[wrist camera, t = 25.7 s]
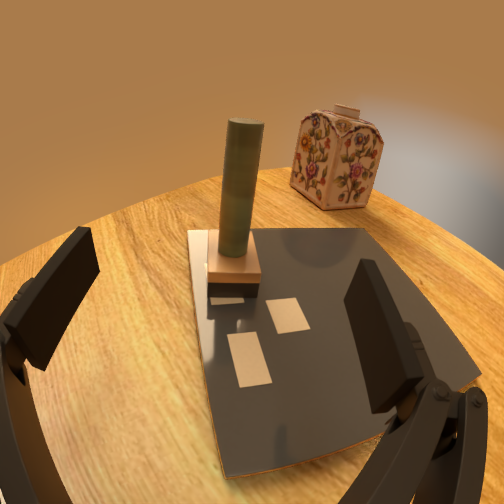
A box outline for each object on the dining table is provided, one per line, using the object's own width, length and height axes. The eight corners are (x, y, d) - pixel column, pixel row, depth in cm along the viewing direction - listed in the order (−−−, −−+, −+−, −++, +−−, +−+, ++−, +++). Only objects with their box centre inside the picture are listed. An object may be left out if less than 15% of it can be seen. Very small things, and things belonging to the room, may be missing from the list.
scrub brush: (207, 252, 31) (216, 112, 23) (248, 254, 32) (267, 117, 24) (207, 297, 26) (216, 126, 17) (257, 298, 26) (285, 132, 18)
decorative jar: (322, 212, 47) (345, 107, 37) (286, 184, 55) (302, 95, 45) (368, 208, 52) (392, 119, 41) (332, 183, 60) (349, 105, 50)
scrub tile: (186, 238, 35) (186, 229, 35) (361, 234, 42) (363, 227, 41) (224, 480, 13) (225, 477, 13) (475, 380, 20) (482, 373, 19)
